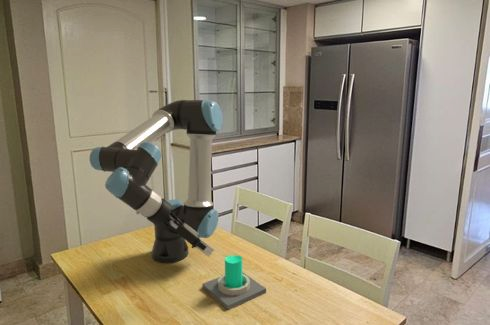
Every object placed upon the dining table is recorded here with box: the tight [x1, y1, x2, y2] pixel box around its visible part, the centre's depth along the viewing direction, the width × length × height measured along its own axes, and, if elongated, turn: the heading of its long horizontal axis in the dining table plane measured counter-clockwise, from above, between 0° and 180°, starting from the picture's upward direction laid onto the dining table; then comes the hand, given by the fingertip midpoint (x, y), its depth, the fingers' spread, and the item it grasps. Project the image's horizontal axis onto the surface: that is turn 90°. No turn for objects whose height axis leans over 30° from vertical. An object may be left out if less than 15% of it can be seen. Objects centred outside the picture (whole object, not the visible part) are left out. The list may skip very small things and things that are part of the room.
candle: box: [224, 253, 243, 288], centre depth 122 cm, size 6×6×12 cm
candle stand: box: [201, 271, 267, 310], centre depth 123 cm, size 16×16×4 cm
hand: (203, 244), depth 115 cm, fingers open, 13 cm apart
